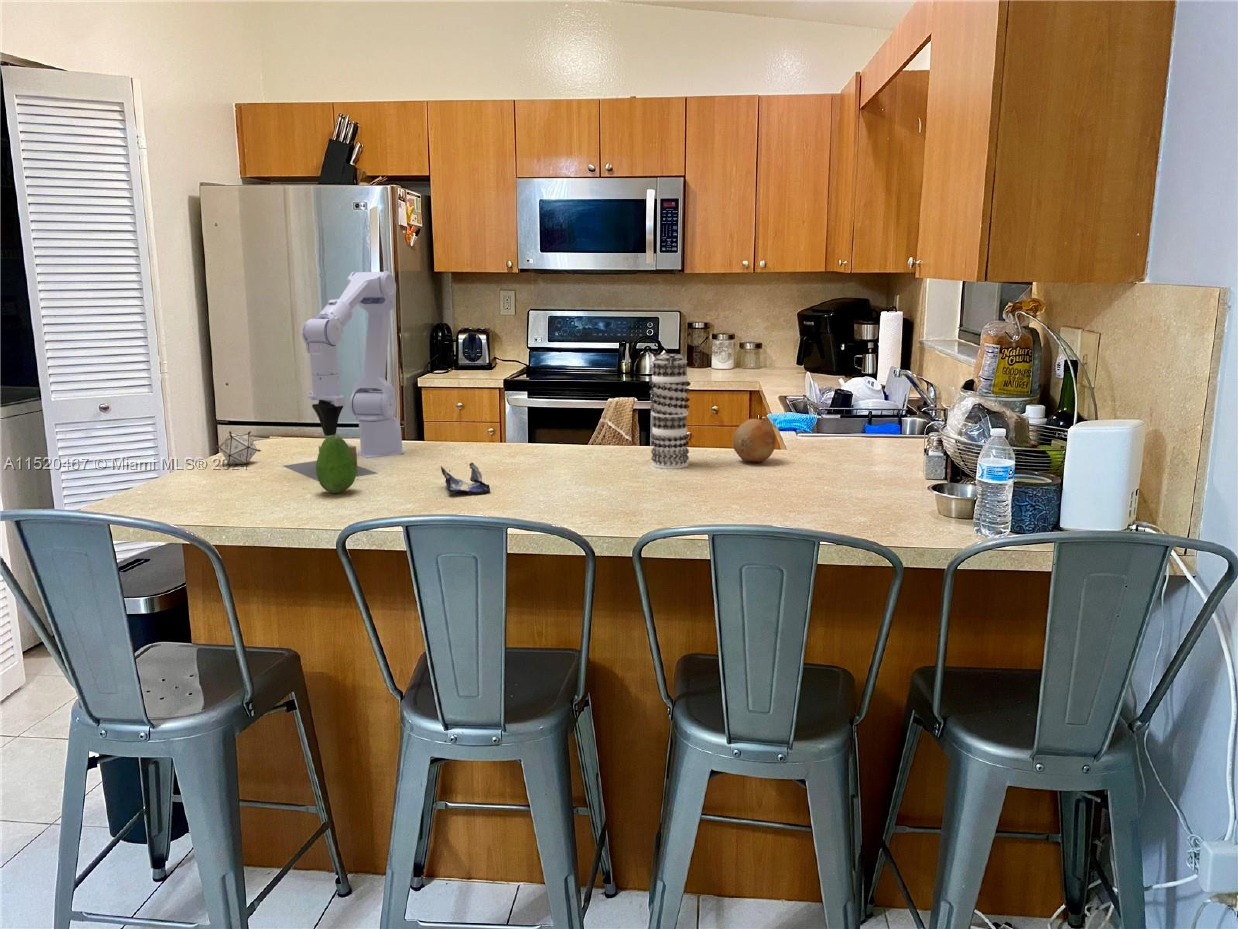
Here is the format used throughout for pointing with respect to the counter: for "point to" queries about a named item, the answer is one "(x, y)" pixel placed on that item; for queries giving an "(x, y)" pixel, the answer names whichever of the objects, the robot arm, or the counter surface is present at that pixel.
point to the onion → (754, 440)
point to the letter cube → (353, 449)
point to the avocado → (335, 465)
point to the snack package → (473, 488)
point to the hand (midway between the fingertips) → (330, 435)
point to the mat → (310, 469)
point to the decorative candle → (669, 411)
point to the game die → (238, 448)
